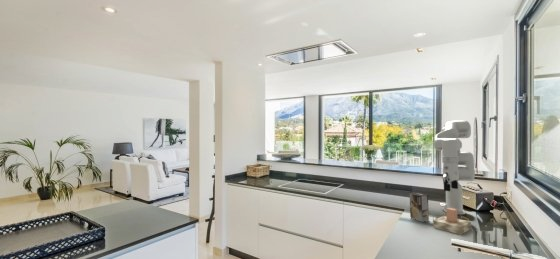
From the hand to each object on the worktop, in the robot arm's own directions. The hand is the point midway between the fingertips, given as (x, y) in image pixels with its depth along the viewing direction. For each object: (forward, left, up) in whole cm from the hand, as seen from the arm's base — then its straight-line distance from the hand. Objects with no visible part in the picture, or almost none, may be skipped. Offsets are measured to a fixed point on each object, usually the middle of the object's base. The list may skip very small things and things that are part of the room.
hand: (450, 189), depth 147 cm
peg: (0, 0, -22) cm, 22 cm away
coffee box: (-19, 0, -22) cm, 29 cm away
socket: (0, 0, -22) cm, 22 cm away
